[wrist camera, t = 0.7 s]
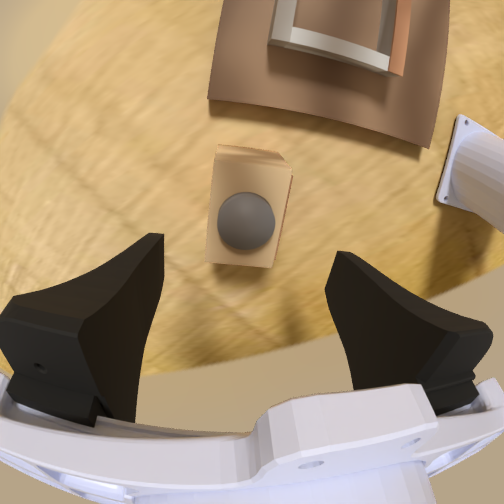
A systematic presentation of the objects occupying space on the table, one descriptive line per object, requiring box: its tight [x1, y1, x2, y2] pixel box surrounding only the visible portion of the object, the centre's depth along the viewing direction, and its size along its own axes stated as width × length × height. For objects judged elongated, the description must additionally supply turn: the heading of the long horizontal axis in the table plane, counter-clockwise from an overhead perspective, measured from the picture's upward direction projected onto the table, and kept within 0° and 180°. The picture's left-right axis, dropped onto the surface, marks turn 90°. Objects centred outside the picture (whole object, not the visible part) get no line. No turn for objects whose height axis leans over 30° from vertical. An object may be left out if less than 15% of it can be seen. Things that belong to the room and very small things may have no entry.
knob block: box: [205, 144, 293, 268], centre depth 18 cm, size 4×6×6 cm
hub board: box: [207, 0, 450, 149], centre depth 13 cm, size 16×14×3 cm
